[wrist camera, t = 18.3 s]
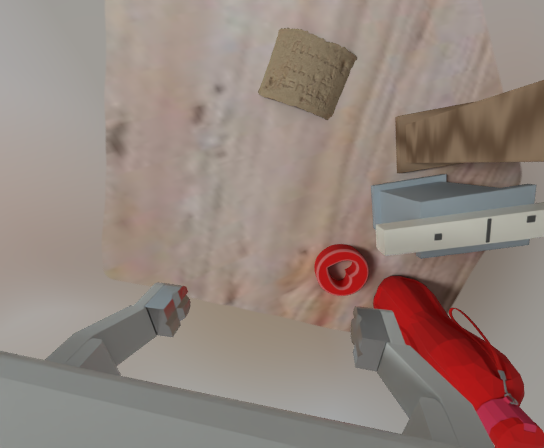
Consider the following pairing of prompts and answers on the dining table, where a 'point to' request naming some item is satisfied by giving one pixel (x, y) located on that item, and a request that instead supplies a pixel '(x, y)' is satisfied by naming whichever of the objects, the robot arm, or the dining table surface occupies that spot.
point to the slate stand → (445, 204)
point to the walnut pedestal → (474, 131)
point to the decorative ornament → (354, 273)
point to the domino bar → (461, 229)
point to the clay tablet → (307, 72)
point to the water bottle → (462, 361)
